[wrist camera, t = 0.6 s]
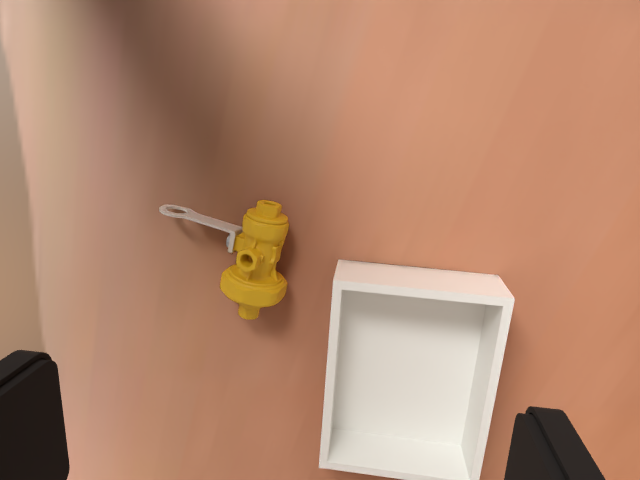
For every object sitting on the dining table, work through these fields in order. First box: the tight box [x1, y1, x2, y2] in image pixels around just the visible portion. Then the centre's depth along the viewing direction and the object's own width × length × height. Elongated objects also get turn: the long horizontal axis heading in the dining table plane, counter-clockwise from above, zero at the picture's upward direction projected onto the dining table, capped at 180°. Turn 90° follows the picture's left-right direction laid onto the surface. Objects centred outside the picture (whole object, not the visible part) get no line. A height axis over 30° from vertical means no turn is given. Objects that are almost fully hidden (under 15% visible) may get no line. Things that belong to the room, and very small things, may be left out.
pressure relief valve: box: [159, 200, 289, 319], centre depth 39 cm, size 6×12×10 cm
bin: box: [319, 259, 515, 480], centre depth 40 cm, size 13×17×5 cm
